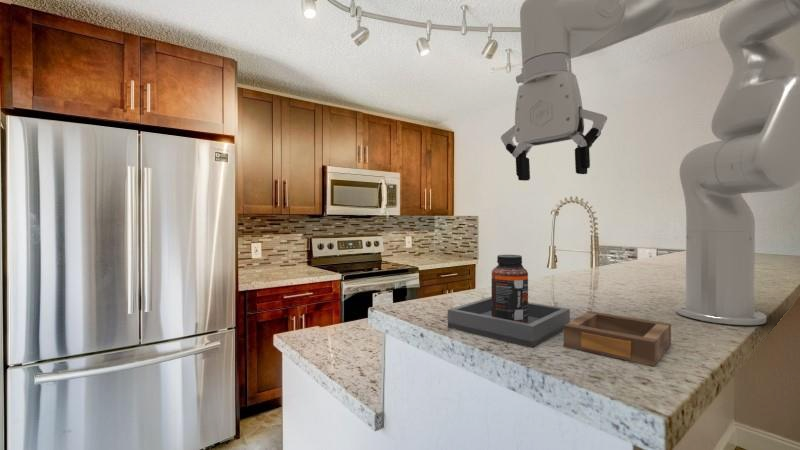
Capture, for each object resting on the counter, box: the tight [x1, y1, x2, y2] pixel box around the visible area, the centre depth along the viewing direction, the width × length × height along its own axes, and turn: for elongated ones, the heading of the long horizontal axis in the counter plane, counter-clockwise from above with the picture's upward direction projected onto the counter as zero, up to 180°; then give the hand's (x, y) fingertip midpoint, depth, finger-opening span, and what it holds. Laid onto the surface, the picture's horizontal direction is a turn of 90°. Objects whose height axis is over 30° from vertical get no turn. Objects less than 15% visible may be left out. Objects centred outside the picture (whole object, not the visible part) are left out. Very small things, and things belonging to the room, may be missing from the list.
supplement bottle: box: [491, 254, 529, 323], centre depth 64 cm, size 6×6×11 cm
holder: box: [563, 310, 672, 367], centre depth 55 cm, size 11×11×3 cm
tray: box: [447, 296, 571, 348], centre depth 64 cm, size 14×15×3 cm
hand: (551, 177), depth 64 cm, fingers open, 9 cm apart
